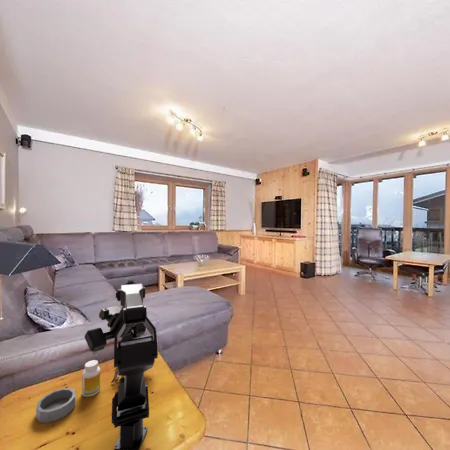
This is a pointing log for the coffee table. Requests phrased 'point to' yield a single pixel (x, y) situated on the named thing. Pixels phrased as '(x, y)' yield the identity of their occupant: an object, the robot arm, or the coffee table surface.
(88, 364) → the supplement bottle
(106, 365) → the coffee table surface
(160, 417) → the coffee table surface
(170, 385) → the coffee table surface
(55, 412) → the grey faceted bowl
